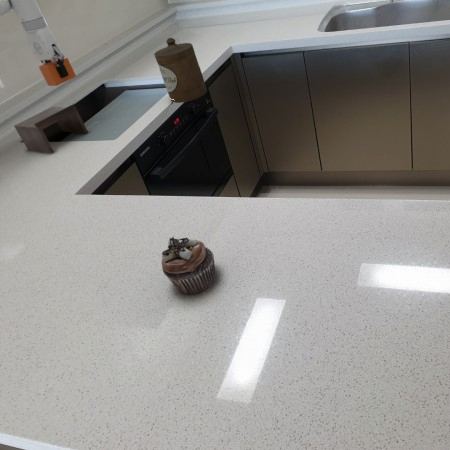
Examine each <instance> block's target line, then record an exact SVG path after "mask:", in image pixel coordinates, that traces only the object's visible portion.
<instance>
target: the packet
mask: <svg viewBox="0 0 450 450" xmlns="http://www.w3.org/2000/svg"><path fill="white" fill-rule="evenodd" d="M57 60H58V59H56V61H57ZM64 66H65V68H66V70H67V72H68V74H69V75H68V76H66V77H64V78H61V77H60V75H59V73H58V71H57V69H56V67H57V66H56V65H55V63H54V62H53V60H52V61H51V62H49V63H46V64H41V65H39V66H38V68H39V71H40V72H41V74H42V76H43V78H44V80H45V82H46V84H47V86H49V87H58V86H59V85H62V84H63V83H66V82H69V81H70V80H72V79H74V78H76V77H77V75H76V73H75V70H74V68H73V67H72V65H71V62H70V60H69V59H68V57H64Z"/></svg>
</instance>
